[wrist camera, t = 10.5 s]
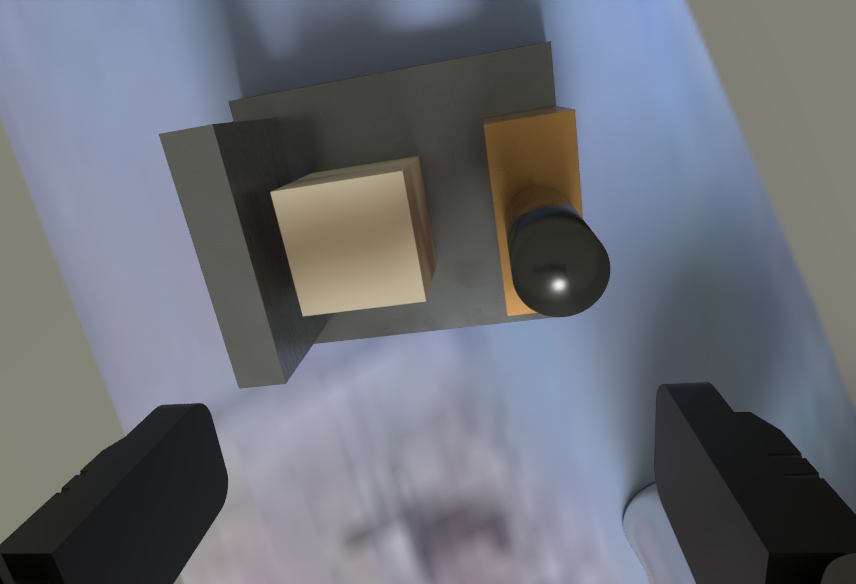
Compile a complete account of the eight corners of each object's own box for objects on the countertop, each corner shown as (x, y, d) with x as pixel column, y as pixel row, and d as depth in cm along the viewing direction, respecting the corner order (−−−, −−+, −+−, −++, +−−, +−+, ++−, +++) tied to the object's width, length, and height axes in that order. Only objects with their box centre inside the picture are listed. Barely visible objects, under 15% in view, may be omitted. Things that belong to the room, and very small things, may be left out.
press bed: (568, 303, 27) (597, 376, 20) (303, 333, 29) (245, 409, 22) (546, 44, 23) (572, 22, 16) (242, 100, 25) (149, 103, 18)
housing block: (437, 263, 25) (426, 301, 21) (335, 276, 26) (302, 316, 22) (418, 155, 24) (402, 170, 19) (311, 173, 25) (270, 191, 20)
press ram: (569, 266, 25) (629, 389, 14) (503, 274, 25) (515, 399, 15) (556, 106, 22) (615, 116, 12) (484, 118, 23) (482, 138, 13)
